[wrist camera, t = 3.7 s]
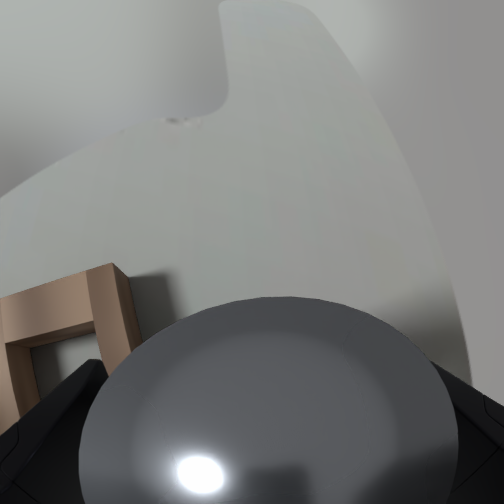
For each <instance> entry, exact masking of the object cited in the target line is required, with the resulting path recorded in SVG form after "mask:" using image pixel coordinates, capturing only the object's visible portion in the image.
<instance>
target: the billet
mask: <svg viewBox="0 0 504 504" xmlns="http://www.w3.org/2000/svg"><path fill="white" fill-rule="evenodd" d="M458 446H459V445H458V428H457V422H456V417H455V412H454V408H453V404H452V402H451V399H450V396H449V394H448V391H447V388H446V386H445V384H444V383H443V381H442V379H441V377H440V375H439V374H438V372H437V370H436V369H435V367H434V366H433V365H432V363H431V362H430V361H429V360H428V358H427V357H426V356H425V354H424V353H423V352H422V351H421V350H420V349H419V348H418V347H417V346H416V345H415V344H413V343H412V342H411V341H410V340H409V339H408V338H407V337H406V336H404V335H403V334H402V333H400V332H399V331H397V330H396V329H394V328H393V327H392V326H390V325H389V324H387V323H385V322H383V321H381V320H379V319H377V318H375V317H374V316H372V315H370V314H368V313H365V312H362V311H360V310H357V309H354V308H351V307H348V306H346V305H342V304H338V303H333V302H329V301H324V300H320V299H311V298H300V297H261V298H255V299H248V300H241V301H234V302H231V303H227V304H223V305H220V306H216V307H212V308H209V309H205V310H203V311H200V312H198V313H196V314H193V315H191V316H188V317H186V318H183V319H181V320H179V321H177V322H175V323H173V324H172V325H170V326H168V327H166V328H165V329H163V330H161V331H159V332H157V333H156V334H154V335H153V336H152V337H150V338H149V339H148V340H146V341H145V342H144V343H142V344H141V345H140V346H138V347H137V348H136V349H134V350H133V351H132V352H131V353H130V354H129V355H128V356H127V357H126V358H125V359H124V360H123V361H122V362H121V363H120V364H119V365H118V366H117V367H116V368H115V370H114V371H113V372H112V374H111V375H110V376H109V378H108V379H107V380H106V382H105V383H104V384H103V386H102V387H101V389H100V390H99V392H98V394H97V396H96V398H95V400H94V402H93V404H92V405H91V407H90V410H89V412H88V415H87V418H86V421H85V424H84V427H83V430H82V436H81V442H80V448H79V478H80V484H81V490H82V495H83V498H84V501H85V504H446V502H447V499H448V497H449V494H450V491H451V488H452V485H453V481H454V477H455V472H456V468H457V459H458Z"/></svg>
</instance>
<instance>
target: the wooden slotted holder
mask: <svg viewBox="0 0 504 504" xmlns="http://www.w3.org/2000/svg"><path fill="white" fill-rule="evenodd" d="M93 332H96V335H97V340H98V345H99V349H100V353H101V358H102V362H103V363H104V366H105V368H106V371H107V373H108V376H110V375H111V374H112V372H113V371H114V370H115V368H116V367H117V366H118V365H119V364H120V363H121V362H122V361H123V360H124V359H125V358H126V357H127V356H128V355H129V354H130V353H131V352H132V351H133V350H134V349H136V348H137V347H138V346H140V345H141V344H142V343H143V341H142V337H141V333H140V329H139V325H138V321H137V317H136V312H135V308H134V303H133V299H132V294H131V289H130V284H129V279H128V277H127V276H126V275H125V274H124V273H123V272H122V271H121V270H120V269H119V268H118V267H117V266H115V265H114V264H113V263H109V264H106V265H102V266H99V267H96V268H93V269H89V270H86V271H83V272H80V273H77V274H74V275H70V276H67V277H64V278H61V279H58V280H55V281H52V282H49V283H46V284H43V285H39V286H36V287H33V288H30V289H27V290H24V291H21V292H18V293H15V294H12V295H9V296H7V297H4V298H1V299H0V435H1V434H2V433H4V432H5V431H6V430H7V429H8V428H10V427H11V426H12V425H13V424H14V423H15V422H18V420H19V419H20V418H21V417H22V416H23V415H24V414H26V413H27V412H28V411H29V410H30V409H31V408H32V407H34V406H35V405H36V404H37V403H38V402H39V401H41V400H40V396H39V392H38V388H37V383H36V379H35V374H34V369H33V364H32V359H31V353H30V348H32V347H36V346H40V345H45V344H49V343H53V342H57V341H61V340H65V339H69V338H73V337H77V336H81V335H85V334H89V333H93Z"/></svg>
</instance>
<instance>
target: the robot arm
mask: <svg viewBox="0 0 504 504" xmlns="http://www.w3.org/2000/svg"><path fill="white" fill-rule="evenodd" d="M429 361H430V360H429ZM430 362H431V363H432V365H433V366H434V367H435V369H436V370H437V372H438V374H439V375H440V377H441V379H442V381H443V383H444V384H445V386H446V388H447V391H448V394H449V396H450V399H451V402H452V404H453V408H454V412H455V417H456V422H457V428H458V445H459V446H458V459H457V468H456V472H455V477H454V481H453V485H452V488H451V491H450V494H449V497H448V499H447V502H446V504H504V406H502V405H500V404H499V403H497V402H495V401H494V400H492V399H490V398H489V397H487V396H486V395H483V394H482V393H481V392H479V391H478V390H476V389H475V388H473V387H471V386H470V385H468V384H467V383H465V382H463V381H462V380H460V379H459V378H457V377H455V376H454V375H452V374H451V373H449V372H448V371H446V370H444V369H443V368H441V367H440V366H438V365H436V364H435V363H433V362H432V361H430ZM108 378H109V376H108V373H107V371H106V368H105V366H104V363H103V362H102V360H99V359H89V360H87V361H86V362H85V363H84V364H83V365H81V366H80V367H79V368H78V369H77V370H75V371H74V372H73V373H72V374H71V375H70V376H68V377H67V378H66V379H65V380H64V381H63V382H61V383H60V384H59V385H58V386H57V387H56V388H54V389H53V390H52V391H51V392H50V393H49V394H47V395H46V396H45V397H44V398H43V399H42V400H41V401H39V402H38V403H37V404H36V405H35V406H34V407H32V408H31V409H30V410H29V411H28V412H27V413H26V414H24V415H23V416H22V417H21V418H20V419H19V420H18V422H15V423H14V424H13V425H12V426H11V427H10V428H8V429H7V430H6V431H5V432H4V433H2V434H1V435H0V504H85V501H84V498H83V495H82V490H81V484H80V478H79V448H80V442H81V436H82V430H83V427H84V424H85V421H86V418H87V415H88V412H89V410H90V407H91V405H92V404H93V402H94V400H95V398H96V396H97V394H98V392H99V390H100V389H101V387H102V386H103V384H104V383H105V382H106V380H107V379H108Z"/></svg>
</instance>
